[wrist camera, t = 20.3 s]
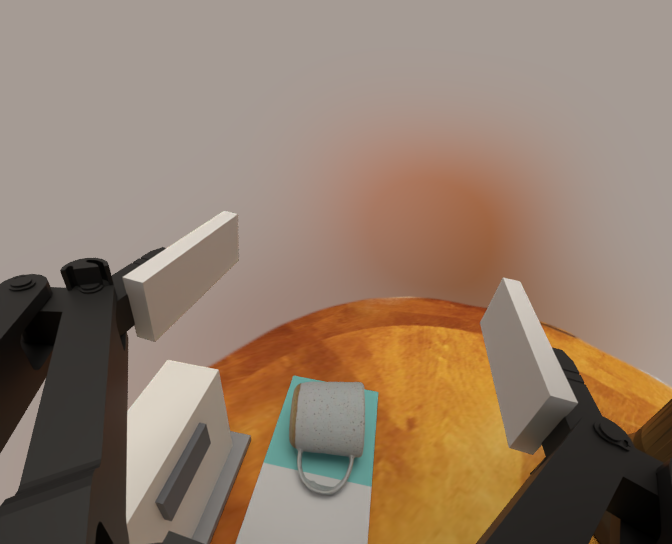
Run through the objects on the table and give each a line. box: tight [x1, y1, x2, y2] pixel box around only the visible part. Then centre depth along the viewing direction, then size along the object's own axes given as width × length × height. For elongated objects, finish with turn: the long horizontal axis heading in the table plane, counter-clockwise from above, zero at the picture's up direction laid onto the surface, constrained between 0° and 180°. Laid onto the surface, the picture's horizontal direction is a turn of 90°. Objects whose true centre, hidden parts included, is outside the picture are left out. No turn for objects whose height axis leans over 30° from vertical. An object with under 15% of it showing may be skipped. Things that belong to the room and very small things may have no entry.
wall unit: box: [126, 360, 251, 544], centre depth 28 cm, size 8×17×14 cm, turn 170°
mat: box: [236, 376, 378, 544], centre depth 35 cm, size 12×24×1 cm, turn 170°
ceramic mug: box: [289, 382, 365, 494], centre depth 36 cm, size 11×8×8 cm
